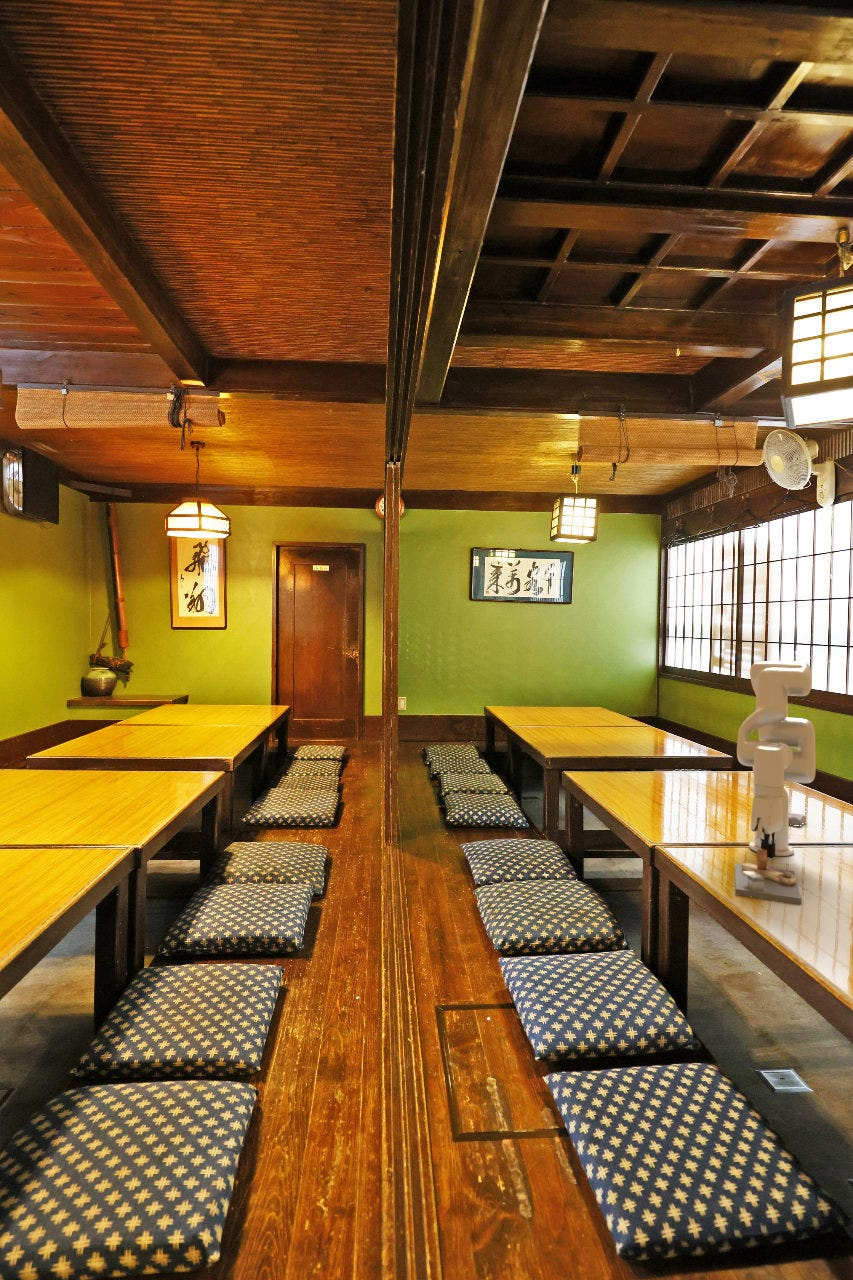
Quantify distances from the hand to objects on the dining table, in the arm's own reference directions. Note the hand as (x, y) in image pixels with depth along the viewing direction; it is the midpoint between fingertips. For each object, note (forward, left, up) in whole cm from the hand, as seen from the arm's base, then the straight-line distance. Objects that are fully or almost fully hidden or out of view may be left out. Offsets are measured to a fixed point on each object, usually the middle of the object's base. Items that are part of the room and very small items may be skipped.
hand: (767, 856), depth 188 cm
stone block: (-68, +9, -7) cm, 69 cm away
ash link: (+4, 0, -4) cm, 6 cm away
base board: (+6, -1, -6) cm, 9 cm away
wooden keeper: (+13, -4, -5) cm, 15 cm away
